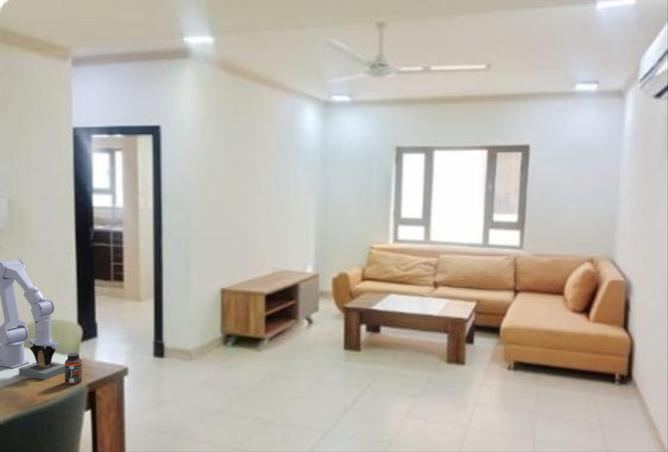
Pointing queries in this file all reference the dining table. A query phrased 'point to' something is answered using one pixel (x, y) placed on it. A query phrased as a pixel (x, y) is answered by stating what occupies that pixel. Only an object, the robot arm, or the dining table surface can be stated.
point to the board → (42, 370)
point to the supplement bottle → (73, 369)
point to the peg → (41, 361)
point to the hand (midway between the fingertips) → (43, 363)
